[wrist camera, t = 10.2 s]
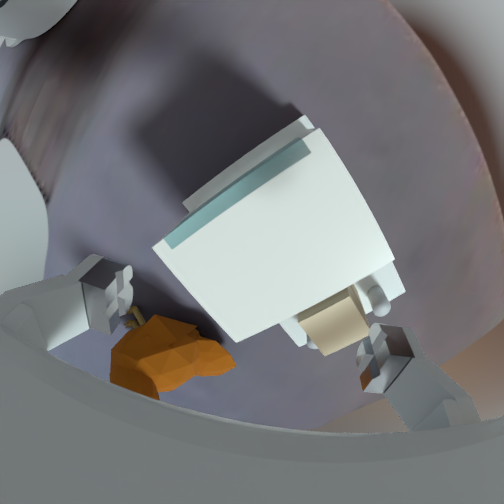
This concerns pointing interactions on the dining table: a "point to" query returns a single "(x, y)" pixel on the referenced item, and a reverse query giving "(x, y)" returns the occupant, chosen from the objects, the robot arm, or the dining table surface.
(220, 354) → the toy
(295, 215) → the cover
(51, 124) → the dining table surface
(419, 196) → the dining table surface
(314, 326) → the block
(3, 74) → the dining table surface
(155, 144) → the dining table surface
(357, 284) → the white peg base plate
